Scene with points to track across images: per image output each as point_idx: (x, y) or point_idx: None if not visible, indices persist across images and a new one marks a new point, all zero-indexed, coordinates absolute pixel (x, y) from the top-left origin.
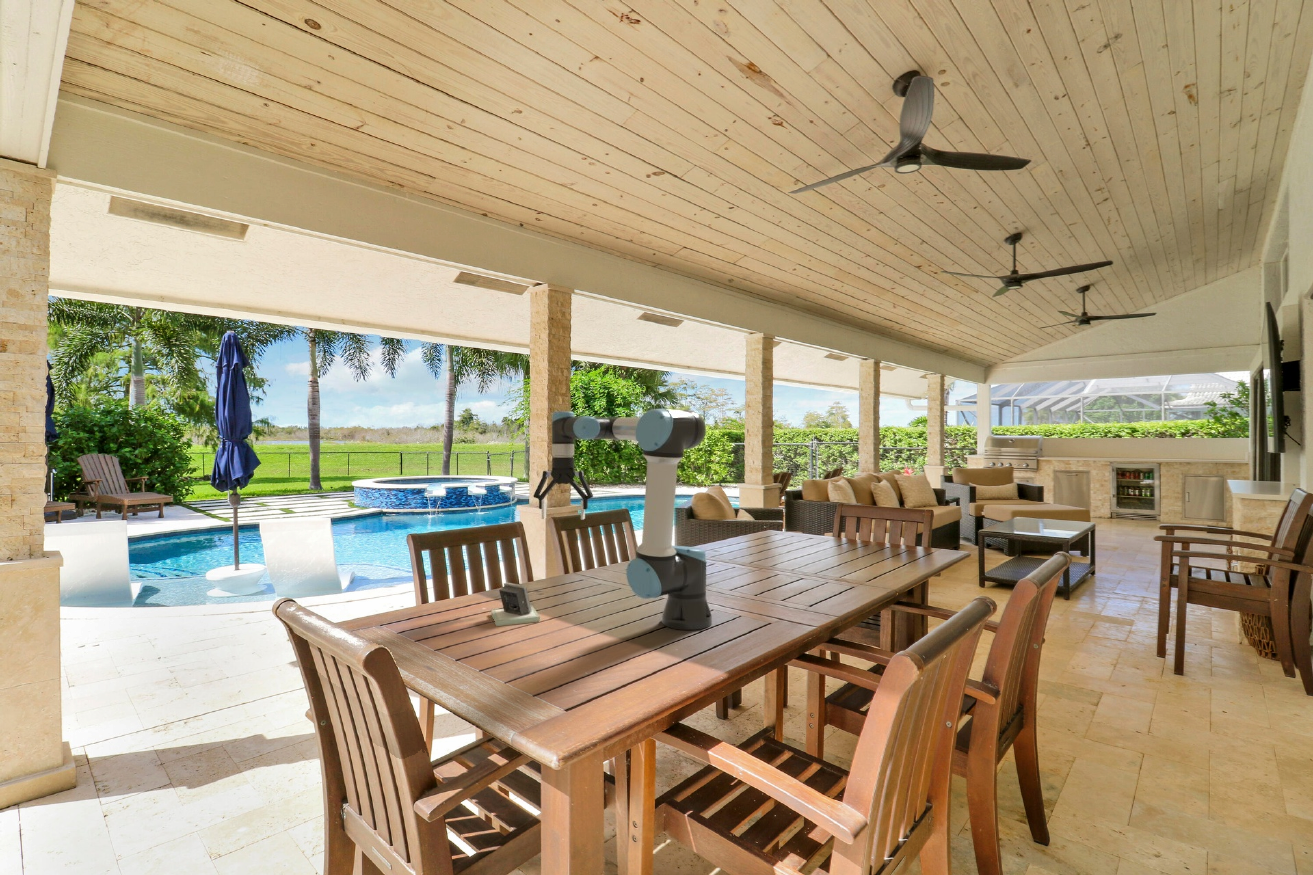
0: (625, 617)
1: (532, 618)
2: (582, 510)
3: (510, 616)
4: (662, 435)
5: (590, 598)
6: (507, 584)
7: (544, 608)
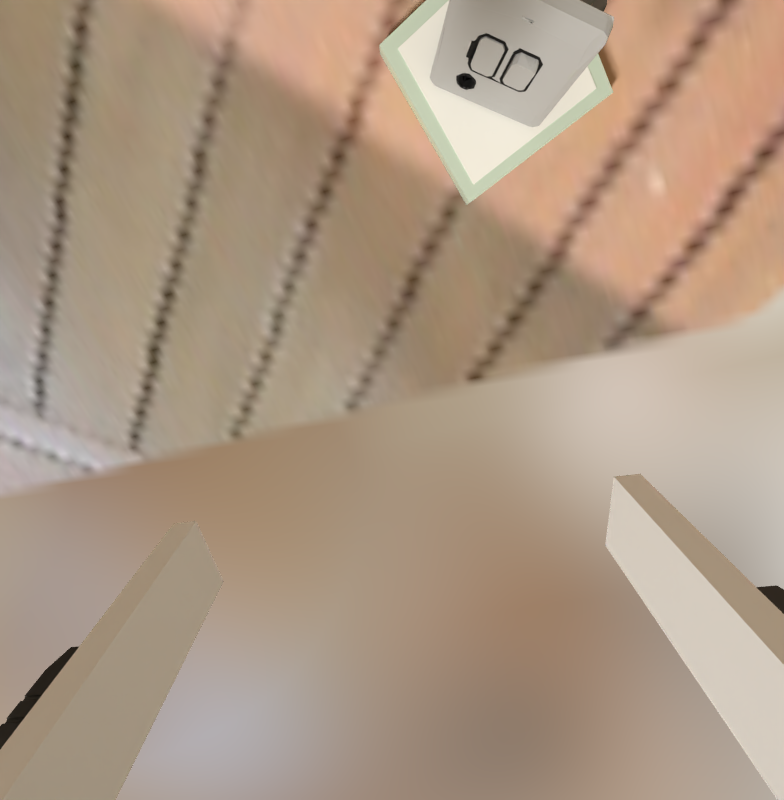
0: (118, 208)
1: (403, 24)
2: (109, 613)
3: None
4: None
5: (335, 396)
6: (587, 7)
7: (433, 243)
